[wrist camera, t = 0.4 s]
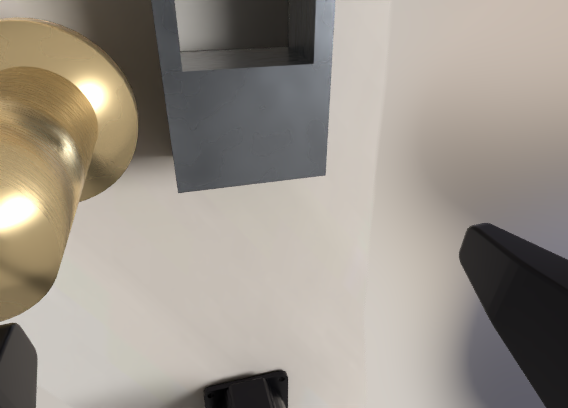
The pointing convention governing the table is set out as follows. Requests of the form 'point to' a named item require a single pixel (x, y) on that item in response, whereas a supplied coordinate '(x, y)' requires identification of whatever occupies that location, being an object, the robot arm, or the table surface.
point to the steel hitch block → (249, 102)
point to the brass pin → (53, 147)
